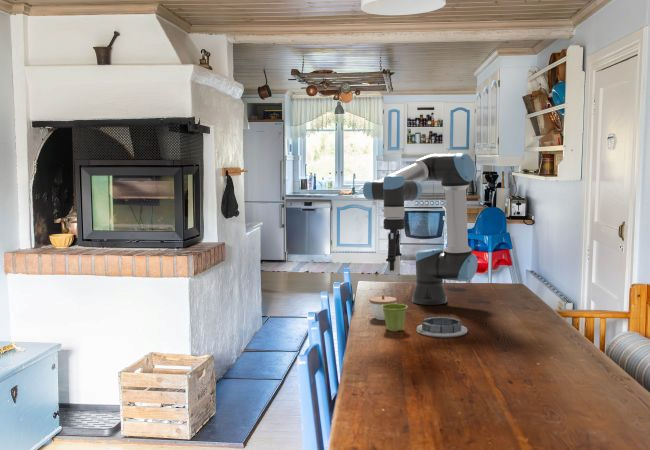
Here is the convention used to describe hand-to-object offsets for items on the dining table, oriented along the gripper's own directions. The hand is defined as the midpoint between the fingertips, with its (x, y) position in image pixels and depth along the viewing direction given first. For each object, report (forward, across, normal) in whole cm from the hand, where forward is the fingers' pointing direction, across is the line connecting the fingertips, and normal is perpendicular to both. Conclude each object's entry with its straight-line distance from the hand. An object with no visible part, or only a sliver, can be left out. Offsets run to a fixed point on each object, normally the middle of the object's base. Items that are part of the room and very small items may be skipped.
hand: (394, 276), depth 245 cm
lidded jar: (+20, -18, -6) cm, 27 cm away
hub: (+20, 0, +17) cm, 26 cm away
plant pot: (+20, 0, 0) cm, 20 cm away
